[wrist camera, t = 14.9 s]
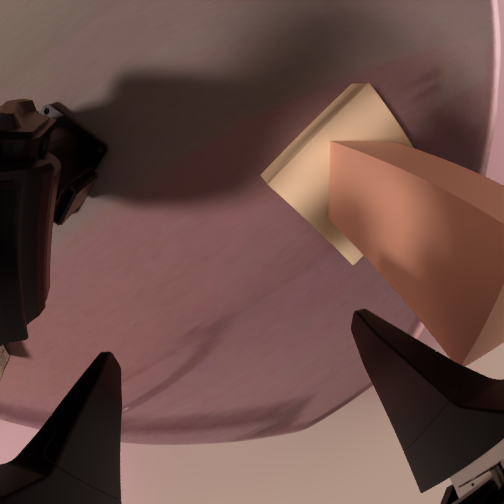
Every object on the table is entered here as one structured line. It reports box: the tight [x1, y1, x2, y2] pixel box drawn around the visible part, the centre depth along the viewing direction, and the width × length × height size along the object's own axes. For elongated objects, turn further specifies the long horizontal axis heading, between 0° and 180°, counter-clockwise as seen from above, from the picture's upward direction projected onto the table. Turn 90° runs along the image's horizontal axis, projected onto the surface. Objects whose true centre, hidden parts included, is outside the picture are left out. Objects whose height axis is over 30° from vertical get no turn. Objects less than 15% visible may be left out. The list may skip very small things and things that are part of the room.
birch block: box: [261, 83, 413, 265], centre depth 20 cm, size 10×10×3 cm
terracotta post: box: [328, 141, 504, 366], centre depth 13 cm, size 6×6×14 cm
